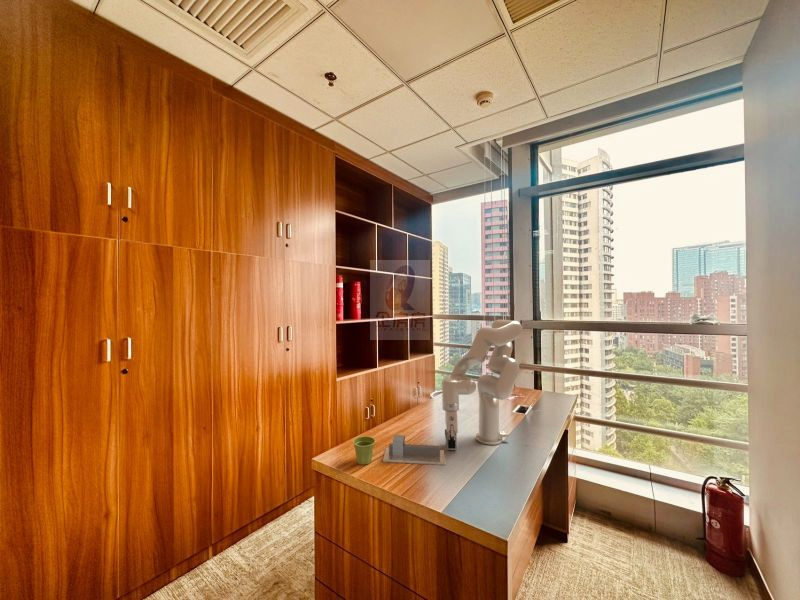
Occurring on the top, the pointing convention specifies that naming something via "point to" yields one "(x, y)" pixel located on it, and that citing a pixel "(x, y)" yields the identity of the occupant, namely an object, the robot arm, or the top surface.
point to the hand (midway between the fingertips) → (451, 444)
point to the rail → (413, 453)
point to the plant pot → (364, 449)
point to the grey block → (448, 438)
